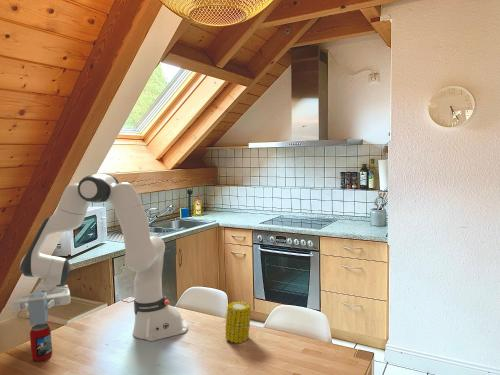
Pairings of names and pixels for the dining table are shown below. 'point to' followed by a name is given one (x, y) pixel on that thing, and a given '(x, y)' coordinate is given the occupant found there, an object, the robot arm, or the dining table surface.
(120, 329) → the dining table surface
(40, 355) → the beverage can
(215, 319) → the dining table surface
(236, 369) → the dining table surface
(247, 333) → the food
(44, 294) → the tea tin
